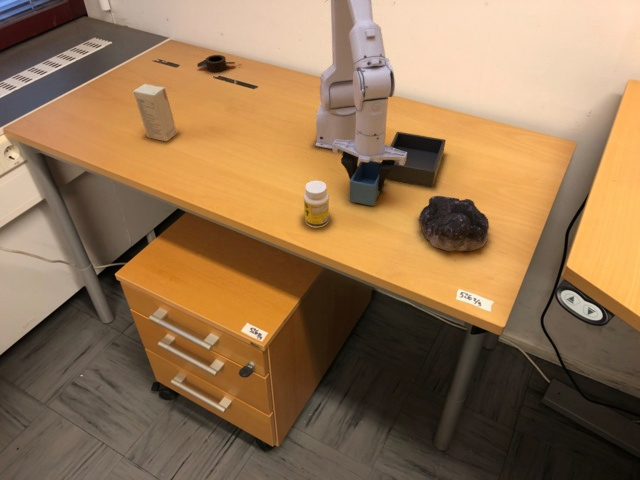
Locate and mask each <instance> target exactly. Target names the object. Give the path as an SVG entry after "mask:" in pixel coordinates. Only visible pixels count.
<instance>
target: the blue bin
mask: <svg viewBox="0 0 640 480" xmlns="http://www.w3.org/2000/svg"><path fill="white" fill-rule="evenodd" d="M381 162H382V161H379V160H370V161H369V162H362V161H359V162H358V167H357V169H356V170H355V172H354V174H353V176H352V178H351V180H350V179H349V197H348V201H349V202H353V203H357V204H363V205H367V206H372V207H374V206H375V204H376V202H377V200H378V197H379V195H380V193H381V192H380V191H378V185H379V166H380V164H381Z"/></svg>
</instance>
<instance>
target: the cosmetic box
mask: <svg viewBox="0 0 640 480" xmlns="http://www.w3.org/2000/svg"><path fill="white" fill-rule="evenodd" d="M132 92H133V96H134V99H135V102H136V105H137V108H138V111H139V115H140V118H141V121H142V124H143V128H144V131H145V134H146V137H147V138H150V139H154V140H158V141H162V142H168V141H170V140H172V138H173V137H175V136H176V135H177V134H178V132H177V128H176V124H175V121H174V117H173V113H172V109H171V105H170V101H169V98H168V93H167V89H166V87H165V86H160V85H156V84H150V83H143V84H142V85H140V86H138V87H137V88H135V89H134V90H133V91H132Z"/></svg>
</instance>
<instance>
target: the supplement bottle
mask: <svg viewBox="0 0 640 480" xmlns="http://www.w3.org/2000/svg"><path fill="white" fill-rule="evenodd" d="M304 189H305V190H304V194H303V209H304V221H305V223H306V225H307V226H309V227H311V228H314V229H317V228H322V227H323V228H324V227H325V226H326V225H327V224H328V223H329V220H330V207H329V206H330V204H329V203H330V202H329V201H330V198H329V196H330V195H329V193H328V191H327V184H326V182H324V181H322V180H310V181H309V182H307V183H306V184H305V186H304Z"/></svg>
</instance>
